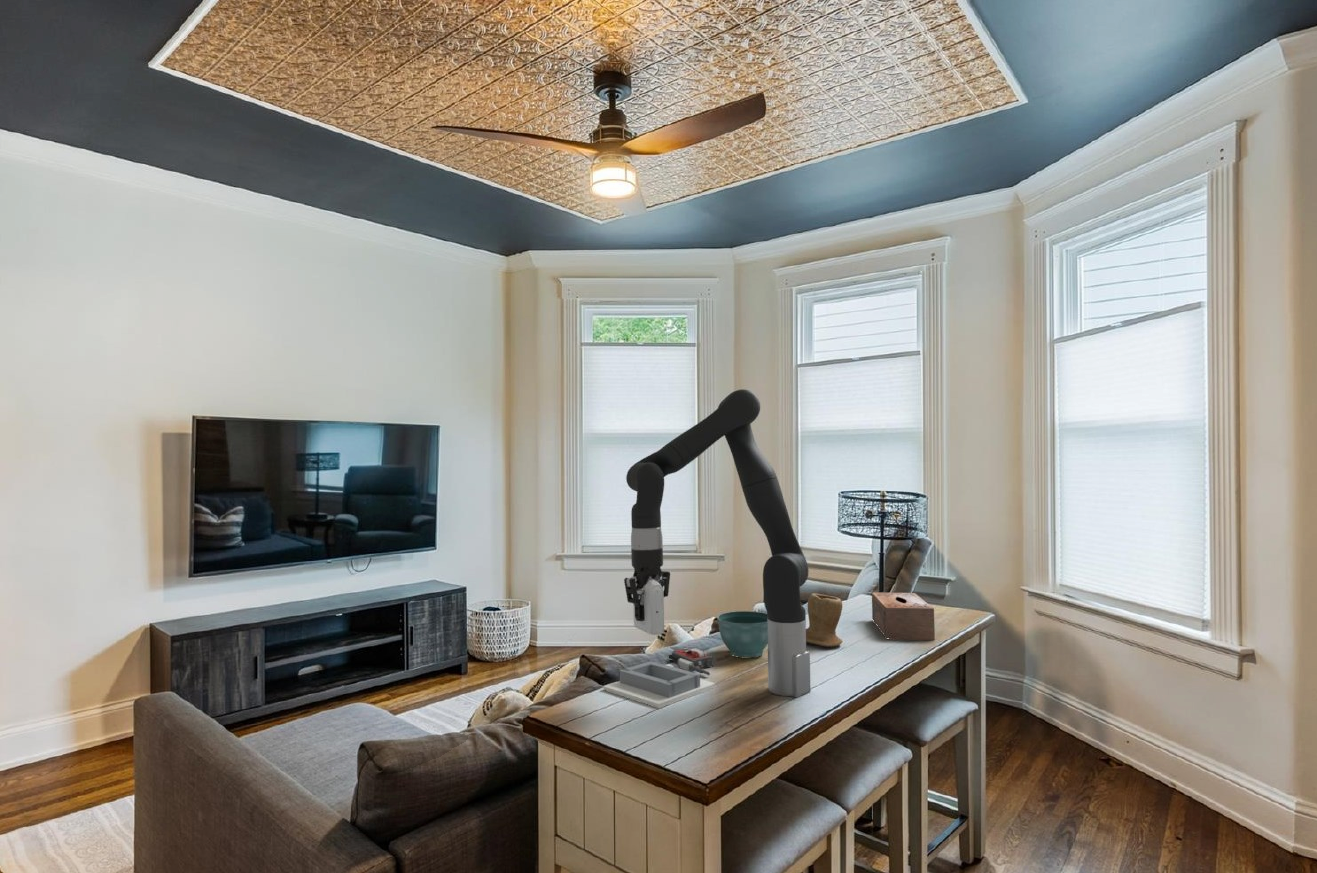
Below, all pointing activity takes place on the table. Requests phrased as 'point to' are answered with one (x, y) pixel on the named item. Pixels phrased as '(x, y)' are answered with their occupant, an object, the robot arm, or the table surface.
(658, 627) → the photo printer
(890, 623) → the tissue box cover
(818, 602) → the tan flared cylinder
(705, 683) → the dock
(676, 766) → the table surface
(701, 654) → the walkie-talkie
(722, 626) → the flower pot
